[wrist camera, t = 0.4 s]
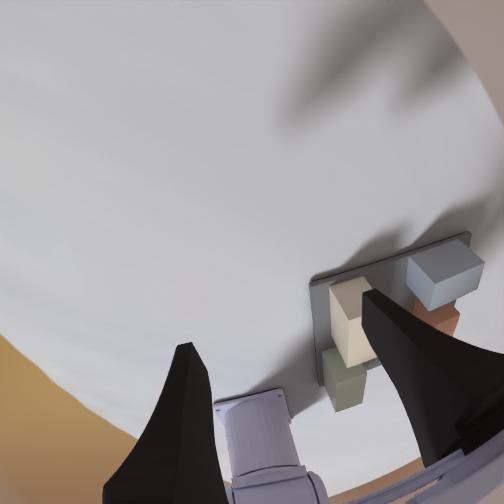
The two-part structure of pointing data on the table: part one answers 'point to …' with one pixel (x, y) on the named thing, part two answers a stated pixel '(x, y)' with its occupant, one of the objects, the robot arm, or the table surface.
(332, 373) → the sage brick
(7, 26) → the table surface
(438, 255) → the bluegrey brick
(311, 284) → the mat
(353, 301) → the cream brick
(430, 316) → the terracotta brick
